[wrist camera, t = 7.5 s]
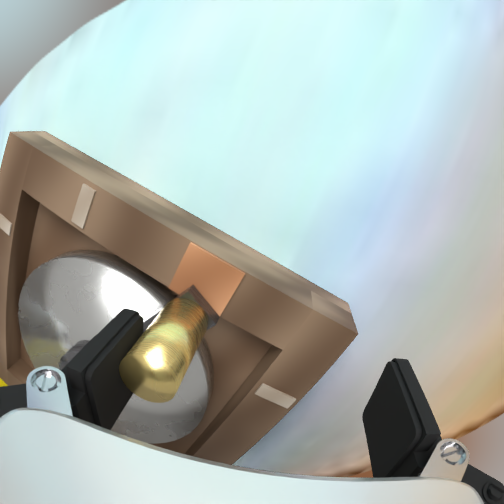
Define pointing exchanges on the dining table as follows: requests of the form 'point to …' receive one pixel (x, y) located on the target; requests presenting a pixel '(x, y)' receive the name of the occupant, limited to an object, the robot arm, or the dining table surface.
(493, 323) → the dining table surface
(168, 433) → the dial
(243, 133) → the dining table surface
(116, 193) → the housing
